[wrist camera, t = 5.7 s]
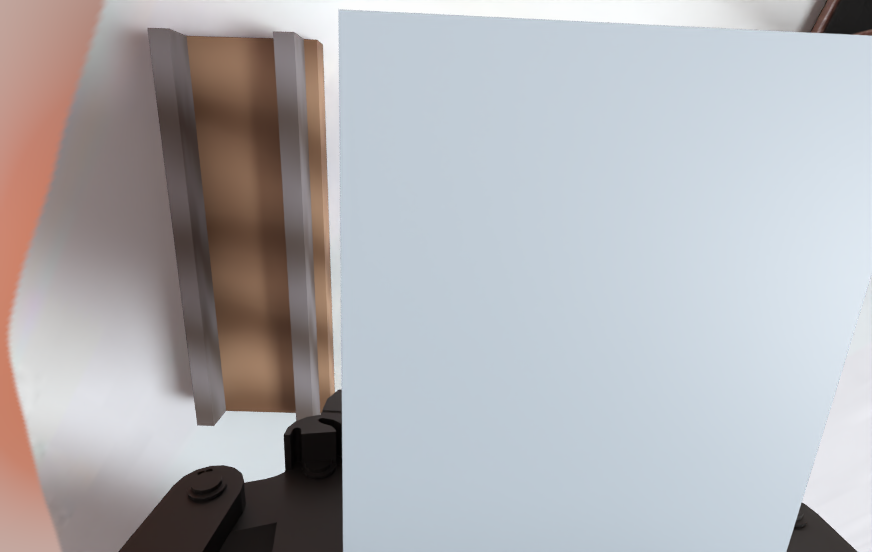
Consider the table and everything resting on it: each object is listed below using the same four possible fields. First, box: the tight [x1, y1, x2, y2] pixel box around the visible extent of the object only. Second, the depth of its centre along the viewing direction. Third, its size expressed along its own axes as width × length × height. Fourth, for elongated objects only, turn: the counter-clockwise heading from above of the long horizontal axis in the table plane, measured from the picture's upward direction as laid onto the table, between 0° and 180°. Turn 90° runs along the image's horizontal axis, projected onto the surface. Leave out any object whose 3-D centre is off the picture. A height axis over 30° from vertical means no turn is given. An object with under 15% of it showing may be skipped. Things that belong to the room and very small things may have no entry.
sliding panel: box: [339, 10, 872, 552], centre depth 12 cm, size 16×4×14 cm, turn 178°
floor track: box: [148, 28, 335, 426], centre depth 32 cm, size 26×10×4 cm, turn 179°
